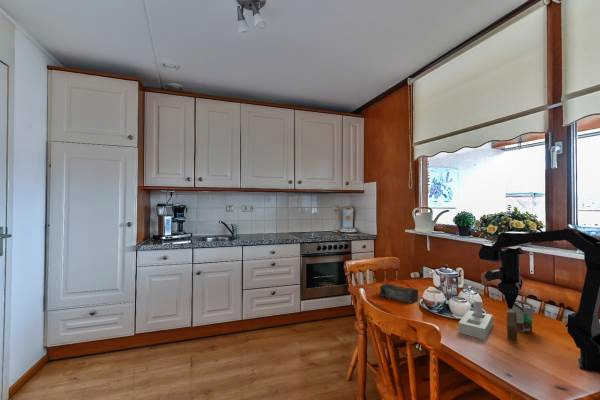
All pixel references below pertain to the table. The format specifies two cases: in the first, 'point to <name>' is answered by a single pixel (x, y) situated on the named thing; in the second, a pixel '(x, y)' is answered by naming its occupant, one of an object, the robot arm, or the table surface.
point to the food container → (524, 315)
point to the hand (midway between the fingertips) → (511, 305)
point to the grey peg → (478, 308)
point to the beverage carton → (399, 293)
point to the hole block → (476, 325)
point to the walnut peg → (511, 325)
